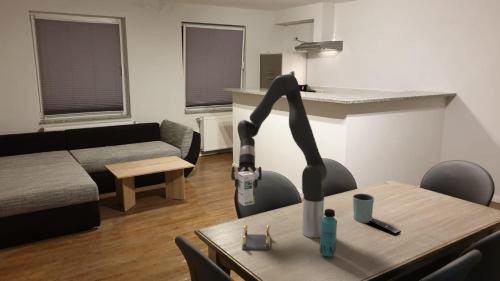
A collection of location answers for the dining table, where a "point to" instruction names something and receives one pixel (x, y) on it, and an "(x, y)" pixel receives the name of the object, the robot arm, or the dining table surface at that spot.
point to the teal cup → (363, 207)
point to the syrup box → (246, 188)
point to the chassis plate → (256, 240)
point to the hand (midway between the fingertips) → (246, 188)
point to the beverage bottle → (328, 233)
